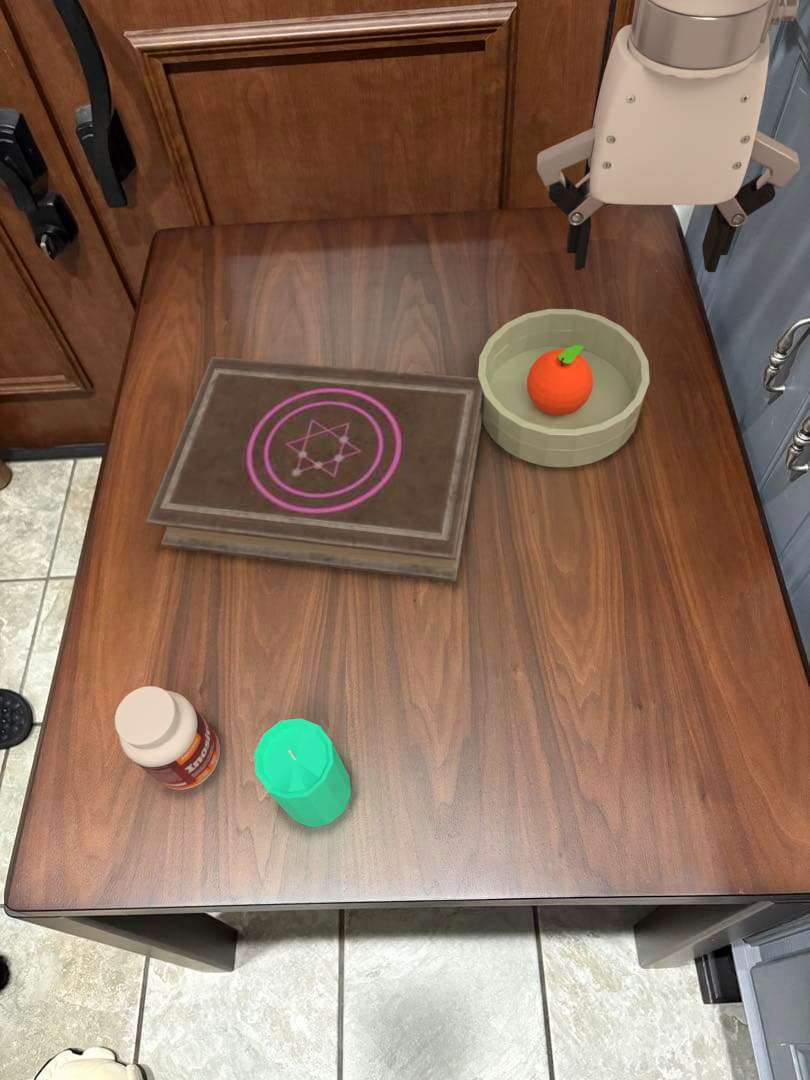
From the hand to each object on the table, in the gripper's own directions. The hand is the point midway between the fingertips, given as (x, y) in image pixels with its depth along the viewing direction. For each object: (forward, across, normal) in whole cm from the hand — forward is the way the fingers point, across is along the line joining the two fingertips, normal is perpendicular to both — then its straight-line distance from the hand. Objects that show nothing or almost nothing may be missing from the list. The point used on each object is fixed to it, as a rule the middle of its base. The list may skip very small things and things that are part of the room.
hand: (643, 258), depth 61 cm
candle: (+26, +24, +36) cm, 51 cm away
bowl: (+26, +4, -8) cm, 28 cm away
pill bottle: (+26, +36, +34) cm, 56 cm away
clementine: (+26, +4, -8) cm, 27 cm away
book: (+26, +28, +3) cm, 39 cm away
